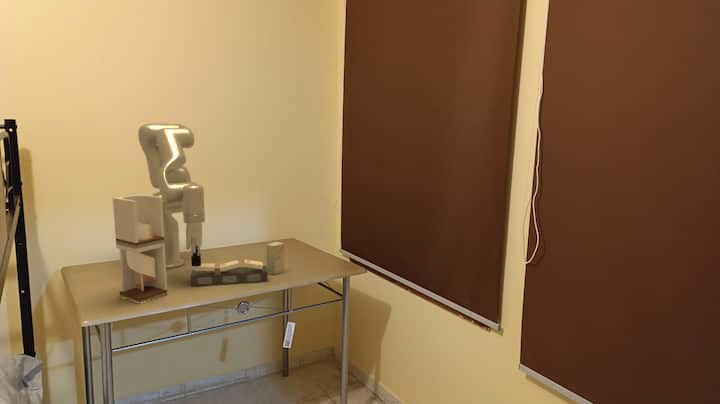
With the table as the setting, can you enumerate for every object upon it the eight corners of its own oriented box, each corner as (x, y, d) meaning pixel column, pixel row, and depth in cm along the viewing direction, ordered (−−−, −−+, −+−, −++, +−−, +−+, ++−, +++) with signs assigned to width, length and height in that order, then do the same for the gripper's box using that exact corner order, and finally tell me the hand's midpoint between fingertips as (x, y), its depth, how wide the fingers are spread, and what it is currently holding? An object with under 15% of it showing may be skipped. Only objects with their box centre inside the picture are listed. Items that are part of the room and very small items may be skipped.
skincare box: (274, 275, 191) (274, 246, 189) (266, 273, 194) (265, 244, 192) (284, 271, 197) (284, 242, 195) (276, 269, 199) (276, 241, 197)
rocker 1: (194, 270, 178) (194, 266, 178) (195, 267, 182) (196, 263, 182) (214, 270, 180) (214, 266, 180) (214, 267, 184) (215, 263, 184)
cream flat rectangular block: (220, 271, 181) (219, 267, 180) (221, 268, 185) (219, 264, 184) (239, 267, 182) (238, 262, 182) (239, 263, 186) (238, 259, 186)
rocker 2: (244, 266, 182) (244, 262, 182) (243, 263, 187) (244, 259, 186) (262, 269, 184) (263, 265, 184) (261, 266, 188) (262, 261, 188)
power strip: (190, 286, 177) (190, 275, 176) (192, 279, 185) (192, 269, 184) (267, 281, 183) (267, 271, 183) (266, 275, 191) (266, 264, 191)
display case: (119, 297, 165) (112, 198, 159) (147, 288, 174) (141, 194, 168) (139, 304, 159) (133, 201, 154) (167, 294, 168) (162, 197, 162)
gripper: (186, 214, 183) (188, 260, 186) (180, 222, 169) (183, 272, 171) (206, 213, 185) (208, 259, 188) (202, 221, 170) (204, 270, 173)
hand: (196, 265), depth 180 cm, fingers closed
